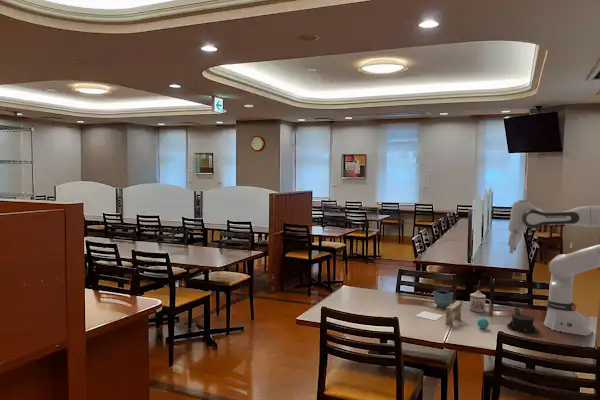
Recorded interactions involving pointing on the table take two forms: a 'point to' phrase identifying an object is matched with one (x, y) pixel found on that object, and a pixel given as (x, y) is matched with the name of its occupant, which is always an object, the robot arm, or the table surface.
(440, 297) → the flower pot
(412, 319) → the table surface
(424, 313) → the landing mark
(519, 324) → the top hat
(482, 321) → the ball
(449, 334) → the table surface
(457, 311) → the bridge
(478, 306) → the teacup with lid
